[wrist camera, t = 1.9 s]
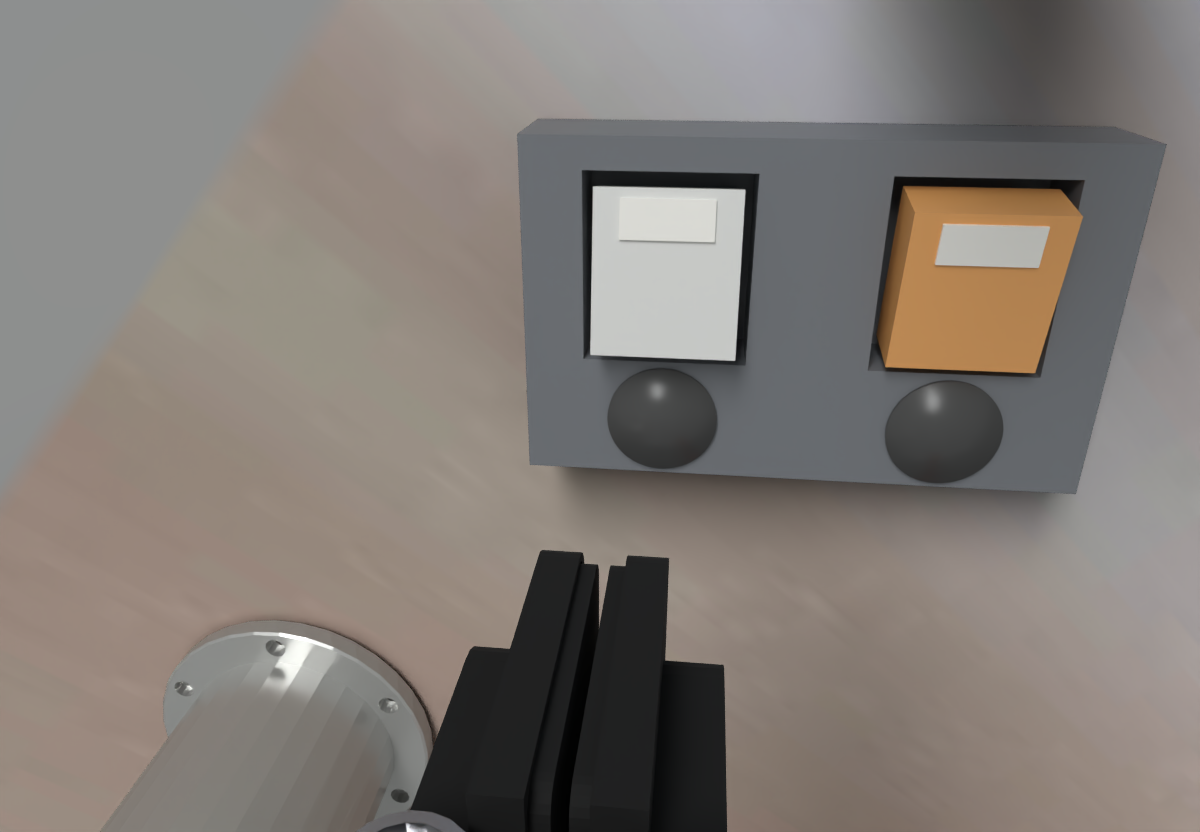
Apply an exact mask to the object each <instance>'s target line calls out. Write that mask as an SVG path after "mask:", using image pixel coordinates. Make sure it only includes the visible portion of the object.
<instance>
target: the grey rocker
mask: <svg viewBox="0 0 1200 832" xmlns="http://www.w3.org/2000/svg"><path fill="white" fill-rule="evenodd" d="M744 207H745V189H741V188H694V187H648V186H602V185H600V186H593V220H592V281H591V341H590V355H604V356H628V357H653V358H677V359H702V360H726V361H735V357H736V340H737V323H738V307H739V290H740V273H741V257H742V240H743V223H744Z"/></svg>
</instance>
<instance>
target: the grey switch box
mask: <svg viewBox="0 0 1200 832" xmlns="http://www.w3.org/2000/svg"><path fill="white" fill-rule="evenodd" d="M517 141H518V167H519V194H520V220H521V246H522V272H523V299H524V325H525V351H526V377H527V404H528V430H529V456H530V465H545V466H564V467H582V468H601V469H620V470H638V471H657V472H675V473H694V474H713V475H731V476H750V477H768V478H787V479H806V480H824V481H843V482H861V483H880V484H899V485H917V486H936V487H954V488H973V489H992V490H1010V491H1029V492H1047V493H1066V494H1076V491H1077V487H1078V484H1079V480H1080V476H1081V472H1082V468H1083V464H1084V460H1085V457H1086V453H1087V449H1088V445H1089V441H1090V437H1091V433H1092V430H1093V426H1094V422H1095V418H1096V414H1097V410H1098V406H1099V403H1100V399H1101V395H1102V391H1103V387H1104V383H1105V380H1106V376H1107V372H1108V368H1109V364H1110V360H1111V356H1112V353H1113V349H1114V345H1115V341H1116V337H1117V333H1118V329H1119V326H1120V322H1121V318H1122V314H1123V310H1124V306H1125V302H1126V299H1127V295H1128V291H1129V287H1130V283H1131V279H1132V276H1133V272H1134V268H1135V264H1136V260H1137V256H1138V252H1139V249H1140V245H1141V241H1142V237H1143V233H1144V229H1145V225H1146V222H1147V218H1148V214H1149V210H1150V206H1151V202H1152V198H1153V195H1154V191H1155V187H1156V183H1157V179H1158V175H1159V171H1160V168H1161V164H1162V160H1163V156H1164V152H1165V148H1166V145H1167V144H1164V143H1161V142H1158V141H1155V140H1152V139H1149V138H1146V137H1143V136H1140V135H1137V134H1134V133H1131V132H1128V131H1125V130H1122V129H1119V128H1117V127H1081V126H1011V125H940V124H870V123H799V122H729V121H659V120H588V119H537V120H536V121H534V122H533V123H532V124H530V125H529V126H527V127H526V128H525V129H523V130H522V131H521V132H519V133H518V134H517ZM600 185H602V186H648V187H694V188H741V189H745V207H744V223H743V240H742V257H741V273H740V290H739V307H738V323H737V340H736V357H735V361H726V360H702V359H677V358H653V357H628V356H604V355H590V341H591V281H592V220H593V186H600ZM903 186H936V187H984V188H1031V189H1061V190H1062V192H1063V193H1064V194H1065V195H1066V196H1067V198H1068V199H1069V200H1070V201H1071V202H1072V204H1073V205H1074V206H1075V207H1076V209H1077V210H1078V211H1079V212H1080V213H1081V215H1082V216H1083V219H1082V222H1081V225H1080V228H1079V232H1078V235H1077V238H1076V241H1075V245H1074V248H1073V251H1072V254H1071V258H1070V261H1069V264H1068V268H1067V271H1066V274H1065V277H1064V281H1063V284H1062V287H1061V290H1060V294H1059V297H1058V300H1057V303H1056V307H1055V310H1054V313H1053V317H1052V320H1051V323H1050V326H1049V330H1048V333H1047V336H1046V339H1045V343H1044V346H1043V349H1042V352H1041V356H1040V359H1039V362H1038V365H1037V369H1036V372H1035V373H1016V372H991V371H967V370H942V369H918V368H894V367H885V364H884V360H883V357H882V353H881V350H880V346H879V342H878V339H877V335H876V333H877V328H878V322H879V317H880V311H881V306H882V300H883V295H884V289H885V284H886V278H887V272H888V267H889V261H890V256H891V250H892V245H893V239H894V234H895V228H896V223H897V217H898V212H899V206H900V201H901V195H902V189H903Z"/></svg>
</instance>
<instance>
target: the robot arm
mask: <svg viewBox="0 0 1200 832" xmlns="http://www.w3.org/2000/svg"><path fill="white" fill-rule="evenodd" d="M668 573H669V558H660V557H644V556H627V561H626V566H610V570H609V576H608V581H607V587H606V593H605V598H604V604H603V610H602V615H601V621H600V627H599V568H598V565H595V564H584V556H583V553H581V552H565V551H549V550H542V551H541V552H540V554H539V557H538V560H537V563H536V566H535V570H534V573H533V576H532V579H531V583H530V586H529V589H528V592H527V596H526V599H525V602H524V605H523V609H522V612H521V615H520V618H519V622H518V625H517V628H516V631H515V635H514V638H513V641H512V645H511V648H510V649H503V648H490V647H476V646H474V647H473V648H472V649H471V650H470V651H469V654H468V656H467V658H466V660H465V663H464V666H463V668H462V671H461V674H460V677H459V679H458V682H457V685H456V687H455V690H454V693H453V696H452V698H451V701H450V704H449V706H448V709H447V712H446V715H445V717H444V720H443V723H442V725H441V728H440V731H439V733H438V736H437V739H436V742H435V744H434V747H433V743H432V734H431V729H430V726H429V723H428V720H427V717H426V714H425V711H424V709H423V708H422V706H421V704H420V703H419V701H418V699H417V697H416V696H415V694H414V692H413V691H412V690H411V688H410V687H409V686H408V685H407V684H406V683H405V681H404V680H403V679H402V678H401V677H400V676H399V675H398V673H397V672H396V671H394V670H393V669H392V668H391V667H390V666H389V665H387V664H386V663H385V662H384V661H383V660H381V659H380V658H379V657H378V656H377V655H375V654H373V653H372V652H370V651H369V650H367V649H365V648H364V647H362V646H360V645H359V644H357V643H355V642H354V641H352V640H349V639H347V638H345V637H342V636H340V635H338V634H335V633H333V632H331V631H328V630H325V629H321V628H318V627H314V626H310V625H307V624H303V623H296V622H287V621H278V620H267V621H249V622H245V623H241V624H236V625H232V626H228V627H225V628H223V629H221V630H219V631H217V632H214V633H212V634H210V635H208V636H206V637H205V638H204V639H203V640H201V641H200V642H199V643H198V644H196V645H195V646H194V647H193V648H191V650H190V651H189V652H188V654H187V655H186V656H185V657H184V658H183V660H182V661H181V662H180V663H179V664H178V666H177V667H176V668H175V670H174V672H173V673H172V675H171V677H170V678H169V680H168V683H167V686H166V690H165V695H164V699H163V720H164V724H165V728H166V732H167V735H168V739H167V740H166V741H165V743H164V744H163V746H162V747H161V748H160V750H159V751H158V752H157V754H156V755H155V756H154V758H153V759H152V761H151V762H150V763H149V765H148V766H147V767H146V769H145V770H144V772H143V773H142V774H141V776H140V777H139V778H138V780H137V781H136V783H135V784H134V785H133V787H132V788H131V789H130V791H129V792H128V794H127V795H126V796H125V798H124V799H123V800H122V802H121V803H120V805H119V806H118V807H117V809H116V810H115V811H114V813H113V814H112V815H111V817H110V818H109V820H108V821H107V822H106V824H105V825H104V826H103V828H102V829H101V831H100V832H727V802H726V745H725V688H724V666H723V665H716V664H703V663H690V662H676V661H665V650H666V624H667V599H668ZM410 808H411V809H410ZM409 809H410V810H409ZM408 810H409V811H408Z"/></svg>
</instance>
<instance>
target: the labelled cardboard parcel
mask: <svg viewBox="0 0 1200 832" xmlns="http://www.w3.org/2000/svg"><path fill="white" fill-rule="evenodd" d="M1082 219H1083V216H1082V215H1081V213H1080V212H1079V211H1078V210H1077V209H1076V207H1075V206H1074V205H1073V204H1072V202H1071V201H1070V200H1069V199H1068V198H1067V196H1066V195H1065V194H1064V193H1063V192H1062V190H1061V189H1031V188H984V187H936V186H903V189H902V195H901V201H900V206H899V212H898V217H897V223H896V228H895V234H894V239H893V245H892V250H891V256H890V261H889V267H888V272H887V278H886V284H885V289H884V295H883V300H882V306H881V311H880V317H879V322H878V328H877V333H876V335H877V339H878V342H879V346H880V350H881V353H882V357H883V360H884V364H885V367H894V368H918V369H942V370H967V371H991V372H1016V373H1035V372H1036V369H1037V365H1038V362H1039V359H1040V356H1041V352H1042V349H1043V346H1044V343H1045V339H1046V336H1047V333H1048V330H1049V326H1050V323H1051V320H1052V317H1053V313H1054V310H1055V307H1056V303H1057V300H1058V297H1059V294H1060V290H1061V287H1062V284H1063V281H1064V277H1065V274H1066V271H1067V268H1068V264H1069V261H1070V258H1071V254H1072V251H1073V248H1074V245H1075V241H1076V238H1077V235H1078V232H1079V228H1080V225H1081V222H1082Z"/></svg>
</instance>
